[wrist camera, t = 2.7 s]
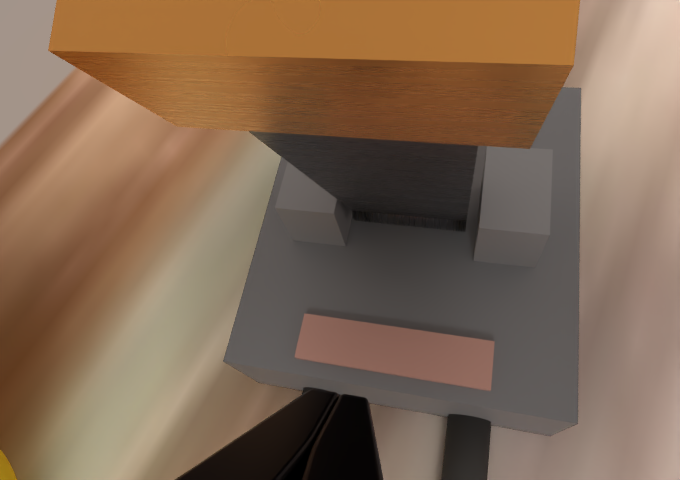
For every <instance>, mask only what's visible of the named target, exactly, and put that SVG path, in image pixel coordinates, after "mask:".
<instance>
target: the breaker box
mask: <svg viewBox="0 0 680 480" xmlns="http://www.w3.org/2000/svg"><path fill="white" fill-rule="evenodd" d="M580 132H581V88H566V87H562V88H561V90H560V92H559V94H558V96H557V98H556V100H555V102H554V104H553V106H552V108H551V109H550V111H549V113H548V115H547V117H546V119H545V121H544V123H543V125H542V127H541V129H540V130H539V132H538V134H537V136H536V138H535V140H534V142H533V144H532V146H531V148H530V149H523V148H507V147H492V146H478V150H477V157H476V163H475V170H474V176H473V183H472V189H471V196H470V202H469V209H468V215H467V222H466V230H465V232H461V231H451V230H441V229H431V228H421V227H411V226H402V225H392V224H382V223H372V222H362V221H355V220H354V219H353V215H352V210H350V209H349V208H348V207H346V206H345V205H344V204H343V203H341V202H340V201H339V200H337V199H336V198H335V197H333V196H332V195H331V194H330V193H328V192H327V191H326V190H324V189H323V188H322V187H320V186H319V185H318V184H317V183H315V182H314V181H313V180H311V179H310V178H309V177H307V176H306V175H305V174H303V173H302V172H301V171H300V170H298V169H297V168H296V167H294V166H293V165H292V164H290V163H289V162H288V161H287V160H285V159H284V158H283V157H281V161H280V164H279V168H278V171H277V175H276V178H275V182H274V185H273V189H272V192H271V196H270V199H269V203H268V206H267V210H266V213H265V217H264V220H263V224H262V227H261V231H260V234H259V238H258V241H257V245H256V248H255V252H254V255H253V259H252V262H251V266H250V269H249V273H248V276H247V280H246V283H245V287H244V290H243V294H242V297H241V301H240V304H239V308H238V311H237V315H236V318H235V322H234V325H233V329H232V332H231V336H230V339H229V343H228V346H227V350H226V353H225V357H224V360H223V362H225V363H227V364H228V365H230V366H232V367H233V368H235V369H237V370H238V371H240V372H242V373H243V374H245V375H247V376H248V377H250V378H252V379H253V380H255V381H257V382H258V383H263V384H269V385H274V386H280V387H285V388H291V389H296V390H302V391H303V388H304V387H312V388H318V389H324V390H328V391H333V392H337V393H338V394H340V395H342V394H349V395H355V396H360V397H365V398H367V399H368V401H369V403H373V404H378V405H384V406H389V407H394V408H400V409H405V410H411V411H416V412H422V413H427V414H433V415H438V416H444V417H448V415H449V414H461V415H468V416H473V417H478V418H482V419H486V420H489V421H491V425H493V426H498V427H504V428H509V429H515V430H520V431H526V432H531V433H537V434H542V435H548V436H551V435H554V434H556V433H558V432H560V431H562V430H565V429H567V428H569V427H571V426H574V425H576V424H578V348H579V240H580Z"/></svg>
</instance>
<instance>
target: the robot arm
mask: <svg viewBox="0 0 680 480" xmlns="http://www.w3.org/2000/svg"><path fill="white" fill-rule="evenodd" d="M175 480H383V475H382V470H381V464H380V459H379V454H378V448H377V443H376V438H375V432H374V427H373V422H372V416H371V411H370V405H369V401H368V399H367V398H365V397H360V396H355V395H349V394H342V395H340V396H339V395H338V393H337V392H333V391H327V390H322V389H315V388H314V389H310V390H309V391H307V392H306V393H304V394H303V395H301V396H300V397H298V398H297V399H295V400H294V401H292V402H291V403H289V404H288V405H286V406H285V407H283V408H282V409H280V410H279V411H277V412H276V413H274V414H273V415H271V416H270V417H268V418H267V419H265V420H264V421H262V422H261V423H259V424H258V425H256V426H255V427H253V428H252V429H250V430H249V431H247V432H246V433H244V434H243V435H241V436H240V437H238V438H237V439H235V440H234V441H232V442H231V443H229V444H228V445H226V446H225V447H223V448H222V449H220V450H219V451H217V452H216V453H214V454H213V455H211V456H210V457H208V458H207V459H205V460H204V461H202V462H201V463H199V464H198V465H196V466H195V467H193V468H192V469H190V470H189V471H187V472H186V473H184V474H183V475H181V476H180V477H178V478H177V479H175Z"/></svg>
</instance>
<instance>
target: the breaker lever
mask: <svg viewBox="0 0 680 480" xmlns="http://www.w3.org/2000/svg"><path fill="white" fill-rule="evenodd" d="M579 5H580V0H57V3H56V8H55V14H54V21H53V26H52V32H51V38H50V43H49V49H48V50H49V51H50V52H51V53H53V54H55V55H56V56H58V57H60V58H61V59H63V60H65V61H67V62H68V63H70V64H72V65H73V66H75V67H77V68H78V69H80V70H82V71H84V72H85V73H87V74H89V75H90V76H92V77H94V78H95V79H97V80H99V81H101V82H102V83H104V84H106V85H107V86H109V87H111V88H112V89H114V90H116V91H118V92H119V93H121V94H123V95H124V96H126V97H128V98H129V99H131V100H133V101H135V102H136V103H138V104H140V105H141V106H143V107H145V108H146V109H148V110H150V111H152V112H153V113H155V114H157V115H158V116H160V117H162V118H163V119H165V120H167V121H169V122H170V123H172V124H174V125H175V126H177V127H192V128H207V129H223V130H239V131H249V132H250V133H251V134H253V135H254V136H255V137H257V138H258V139H259V140H260V141H262V142H263V143H264V144H266V145H267V146H268V147H270V148H271V149H272V150H274V151H275V152H276V153H277V154H279V155H280V156H281V157H283V158H284V159H285V160H287V161H288V162H289V163H290V164H292V165H293V166H294V167H296V168H297V169H298V170H300V171H301V172H302V173H303V174H305V175H306V176H307V177H309V178H310V179H311V180H313V181H314V182H315V183H317V184H318V185H319V186H320V187H322V188H323V189H324V190H326V191H327V192H328V193H330V194H331V195H332V196H333V197H335V198H336V199H337V200H339V201H340V202H341V203H343V204H344V205H345V206H346V207H348V208H349V209H350V210H352V215H353V219H354V220H355V221H362V222H372V223H382V224H392V225H402V226H411V227H421V228H431V229H441V230H451V231H461V232H465V230H466V222H467V215H468V209H469V202H470V196H471V189H472V183H473V176H474V170H475V163H476V157H477V150H478V146H492V147H507V148H523V149H530V148H531V146H532V144H533V142H534V140H535V138H536V136H537V134H538V132H539V130H540V129H541V127H542V125H543V123H544V121H545V119H546V117H547V115H548V113H549V111H550V109H551V108H552V106H553V104H554V102H555V100H556V98H557V96H558V94H559V92H560V90H561V88H562V86H563V85H564V83H565V81H566V79H567V77H568V75H569V73H570V71H571V69H572V67H573V65H574V56H575V46H576V36H577V26H578V15H579Z"/></svg>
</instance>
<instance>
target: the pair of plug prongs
mask: <svg viewBox="0 0 680 480" xmlns="http://www.w3.org/2000/svg"><path fill="white" fill-rule="evenodd" d="M310 389H314V388H312V387H304V388H303V393H302V395H303V394H304V393H306V392H307V391H309V390H310ZM315 389H318V388H315ZM322 390H324V389H322ZM327 391H328V390H327ZM338 395H339V396H340V394H338ZM490 432H491V421H489V420H486V419H482V418H478V417H473V416H468V415H461V414H449V415H448V423H447V432H446V441H445V451H444V460H443V470H442V479H441V480H487V472H488V459H489V445H490Z"/></svg>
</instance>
